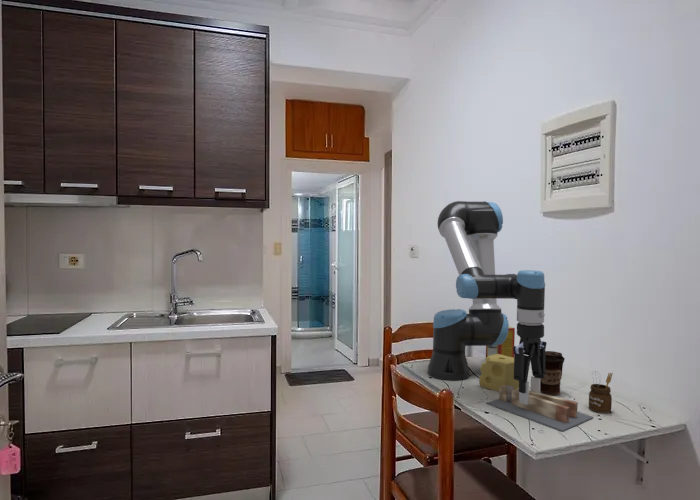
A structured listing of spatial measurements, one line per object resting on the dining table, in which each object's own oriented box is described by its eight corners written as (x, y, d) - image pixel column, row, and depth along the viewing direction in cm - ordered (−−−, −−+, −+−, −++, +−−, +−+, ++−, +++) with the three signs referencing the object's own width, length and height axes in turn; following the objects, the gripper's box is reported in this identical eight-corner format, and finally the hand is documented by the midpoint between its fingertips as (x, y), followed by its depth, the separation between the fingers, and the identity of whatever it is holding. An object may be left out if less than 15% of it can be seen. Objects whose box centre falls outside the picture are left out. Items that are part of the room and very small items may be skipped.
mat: (486, 403, 139) (486, 402, 139) (518, 393, 148) (518, 392, 148) (562, 431, 119) (562, 430, 119) (593, 418, 129) (593, 416, 128)
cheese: (478, 386, 155) (479, 357, 155) (497, 380, 162) (498, 352, 161) (505, 395, 147) (506, 364, 147) (524, 388, 153) (525, 359, 153)
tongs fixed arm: (498, 399, 141) (498, 385, 141) (505, 397, 143) (505, 383, 143) (565, 423, 124) (566, 407, 124) (572, 420, 126) (573, 404, 126)
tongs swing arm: (515, 402, 139) (516, 388, 139) (518, 400, 140) (518, 387, 140) (575, 418, 127) (575, 403, 127) (577, 416, 128) (577, 402, 128)
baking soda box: (513, 368, 177) (514, 327, 177) (498, 369, 176) (499, 327, 175) (500, 361, 186) (500, 322, 186) (485, 362, 185) (486, 323, 184)
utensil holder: (598, 405, 139) (599, 366, 138) (617, 412, 133) (618, 371, 133) (583, 407, 137) (584, 367, 136) (601, 415, 131) (603, 373, 130)
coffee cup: (567, 398, 145) (568, 357, 144) (539, 395, 146) (540, 355, 146) (560, 389, 153) (561, 350, 153) (533, 387, 155) (534, 349, 154)
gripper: (523, 328, 127) (522, 411, 127) (559, 321, 137) (558, 398, 138) (500, 324, 133) (499, 404, 133) (536, 318, 143) (535, 391, 144)
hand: (529, 401), depth 135 cm, fingers open, 5 cm apart
